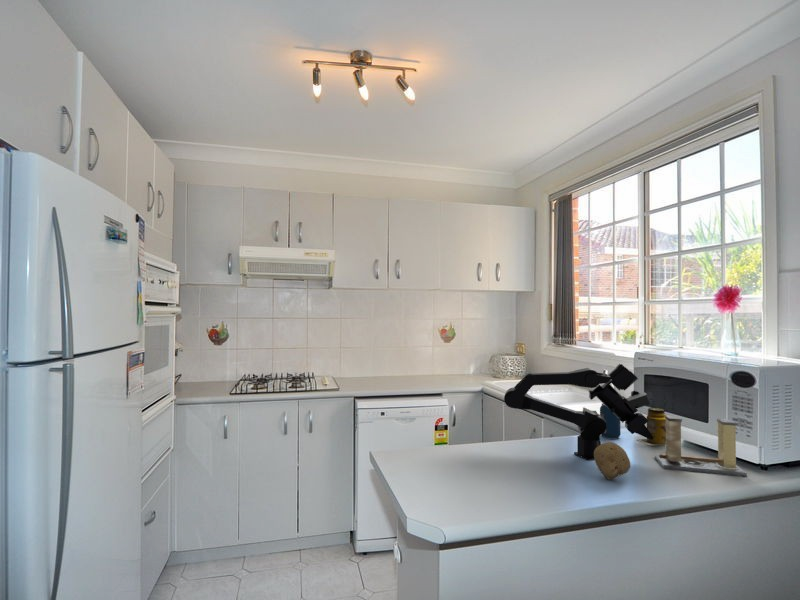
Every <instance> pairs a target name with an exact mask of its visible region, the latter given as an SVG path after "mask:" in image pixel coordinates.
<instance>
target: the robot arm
mask: <svg viewBox="0 0 800 600" xmlns="http://www.w3.org/2000/svg"><path fill="white" fill-rule="evenodd" d="M638 380H639V378H638V376H636V375H635V374H634V373H633V372H632V371H631V370H629V369H628V368H627V367H626V366H624V365H623V364H622V363H619V364H617V365H616V367H615V368H614V369H613V370H612V371H611V372H609V373H605V372H603V373H602V372H597V370H595V369H594V368H592V367H586V368H579V369H575V370H572V371H571V370H570V371H567V372H566V371H565V372H535V373H534V372H527V373H526V374H525V375H524V376H523V378H521V380H520V381H519V382H517V384H515V386H513V387H510V388H508V389H507V390H506V391H505V393H504V396H503V397H504V398H503V400H504V403H505V405H506V406H507V407H509V408H510V409H515V410H516V409H517V410H528V411H529V410H530V411H534V412H537V413H540V414H543V415H546V416H549V417H552V418H555V419H559V420H562V421H565V422H568V423H571V424H574V425H576V426H577V429H578V431H579V432H578V433H579V435H577V437H576V438H577V441H576V443H577V445H576V446H577V451H574V453H573V454H574V455H576V456H578V457H580V458H583V459H585V460H588V461H590V460H595V459H594V451H595V449H596V448H597V447H598V446H599V445H600V444H602V441H601V436H602V435H601V434H603V433H604V432H605V431H606V427H607V426H606V423H605V421H604V419H603V418H602V417H601V415H600V413H598V412H597V410H591V409H588V408H587V407H585V406H584V407H582V410H575V409H571V408H567V407H565V406H561V405H558V404H555V403H552V402H549V401H546V400H542V399H539V398H535V397H533V396H531V395H530V394H528V392H529V391H530V390H531V388H532V387H533V386H559V385H561V386H566V385H571V386H576V387H582V388H587V389H588V398H589V399H590V400H593V399H595V398H597V399H598V400H599V401H600V402H601V404H602V403H603V404H604V405H605V406H606V407H607V408H608V409H609V410H610V411H611V412H612V413H613V414H615V415H616V416H617V418H618V419H619V420H620V423H622V424H623V423H624V427H625V428H626V430H627V431H628V432H630V433H631V435H633V434H636V435H640V436H642V437H643V438H645V439H647V438H648V439H650V440H652V439H653V438H654V437H653V436H652V434H651V433H650V431H649V430H648V429H647V422H648V419H647V417H645V416H644V415H643V414H642V413H641V412H638V411H639V410H638V409H640V408H642V407H645V406H649V405H651V404H652V402H651V399H650V398H649V396H648V394H647V393H646V392H645V391H640V392H639V391H638V390H636V389H635V390H631V391H630V396H628V397H627V398H626V397H625V396H623V395H621V394H620V393H619V392H618V391H626V390H627V389H628V388H630V387H631V386H632V385H633V384H634V383H636V381H638ZM611 384H612V385H613V386H614V387H615V388H616V389H615V388H614V387H613V386H612V385H611Z"/></svg>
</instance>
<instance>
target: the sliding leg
mask: <svg viewBox="0 0 800 600" xmlns="http://www.w3.org/2000/svg"><path fill="white" fill-rule="evenodd" d="M665 418H666V445H665V454H666V457H667V458H668V459H669V460H670V461H676V462H681V456H682V422H683V419H682V418H681V417H680V416H678V415H666V414H665Z"/></svg>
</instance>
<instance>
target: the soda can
mask: <svg viewBox="0 0 800 600" xmlns="http://www.w3.org/2000/svg"><path fill="white" fill-rule="evenodd" d="M599 415H601V417H602V418H603V419H604V421H605V423H606V426H607V427H606V431H605V432H604V433H603V434H601V435H600V436H601V437H602V436H603V437H602V438H605V439H609V440H610V439H611V440H616V439H617V440H619V438H620V437H621V432H622V431H621V421H620V420H619V419H618V418H617V416H616V415H615V414H613V413H612V412H611V411H610V410H609V409H608V408H607V407H606V406H605V405H604V404H603V403H602V402H601V406H600V407H599Z"/></svg>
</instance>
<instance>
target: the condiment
mask: <svg viewBox="0 0 800 600" xmlns="http://www.w3.org/2000/svg"><path fill="white" fill-rule="evenodd" d="M665 412H666V411H665V409H663V408H659V407H648V409H647V415H646V419H648V422H647V423H646V427H647V429H648V430H649V431H650V433H651V434H652V436H653V437H654V438H653V439H652V440H650V439H648V438H643V439H641V438H636V440H637V441H639V442H641V443H643V444H644V445H648V446H666V418H665V415H666V413H665Z"/></svg>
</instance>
